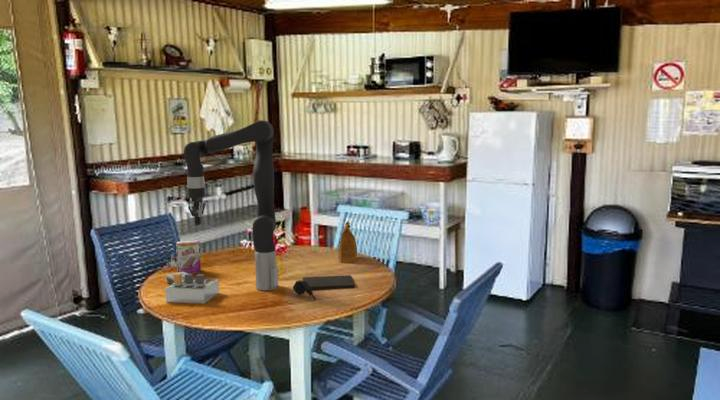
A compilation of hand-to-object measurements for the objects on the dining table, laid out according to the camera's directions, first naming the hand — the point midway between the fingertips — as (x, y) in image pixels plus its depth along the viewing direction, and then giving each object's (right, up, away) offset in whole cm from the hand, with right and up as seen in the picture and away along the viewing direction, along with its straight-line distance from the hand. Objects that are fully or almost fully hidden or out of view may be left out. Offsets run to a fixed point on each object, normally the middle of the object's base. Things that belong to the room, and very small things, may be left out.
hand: (198, 224), depth 245 cm
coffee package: (+66, -23, +44) cm, 83 cm away
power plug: (+53, -33, -15) cm, 64 cm away
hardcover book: (+58, -29, +6) cm, 65 cm away
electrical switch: (-9, -29, +8) cm, 31 cm away
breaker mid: (+1, -25, -15) cm, 29 cm away
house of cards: (-27, -25, +39) cm, 54 cm away
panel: (+1, -31, -11) cm, 33 cm away
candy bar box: (-12, -26, +27) cm, 39 cm away
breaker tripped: (-4, -25, -14) cm, 29 cm away
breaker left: (+5, -25, -15) cm, 30 cm away
